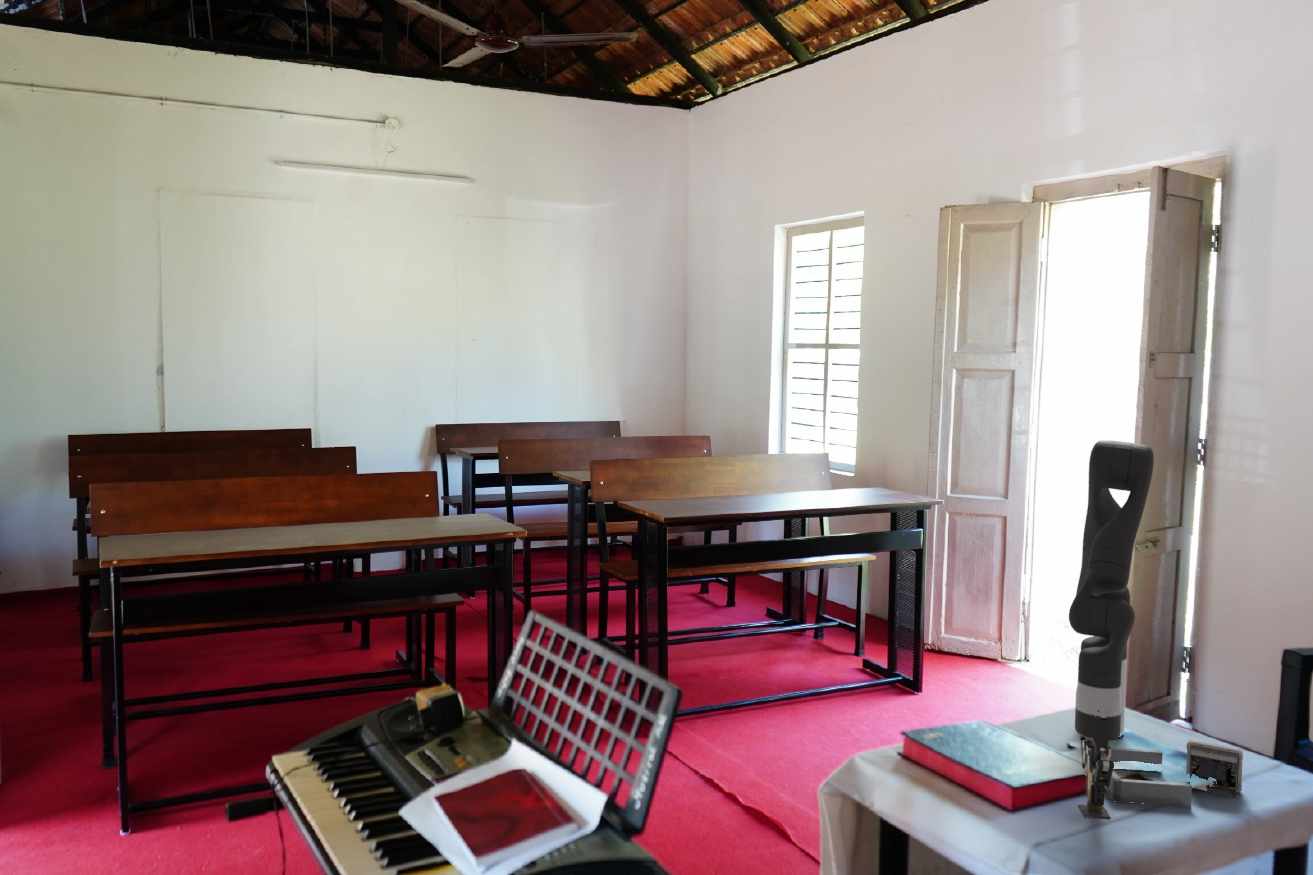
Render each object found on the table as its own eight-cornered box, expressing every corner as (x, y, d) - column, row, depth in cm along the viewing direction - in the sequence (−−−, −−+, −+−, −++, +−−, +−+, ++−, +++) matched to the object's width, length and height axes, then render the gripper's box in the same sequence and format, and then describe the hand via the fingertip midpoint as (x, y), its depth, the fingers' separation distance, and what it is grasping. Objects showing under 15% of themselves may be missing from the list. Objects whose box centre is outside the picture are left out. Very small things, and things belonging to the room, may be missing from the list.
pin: (1085, 804, 182) (1086, 766, 182) (1100, 805, 182) (1101, 767, 182) (1088, 810, 180) (1090, 772, 179) (1104, 811, 180) (1105, 773, 179)
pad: (1078, 806, 184) (1078, 804, 184) (1103, 808, 183) (1103, 806, 183) (1084, 816, 179) (1084, 815, 179) (1110, 818, 178) (1110, 817, 178)
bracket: (1089, 765, 203) (1090, 746, 202) (1159, 770, 200) (1160, 750, 200) (1114, 802, 185) (1114, 780, 185) (1190, 807, 183) (1191, 786, 183)
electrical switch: (1242, 791, 191) (1243, 745, 189) (1240, 804, 186) (1242, 757, 185) (1186, 780, 196) (1187, 735, 194) (1183, 792, 191) (1185, 746, 190)
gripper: (1066, 693, 187) (1063, 784, 188) (1085, 719, 173) (1082, 816, 175) (1109, 696, 186) (1106, 787, 187) (1132, 722, 172) (1128, 820, 173)
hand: (1094, 801), depth 181 cm, fingers closed on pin, 2 cm apart
